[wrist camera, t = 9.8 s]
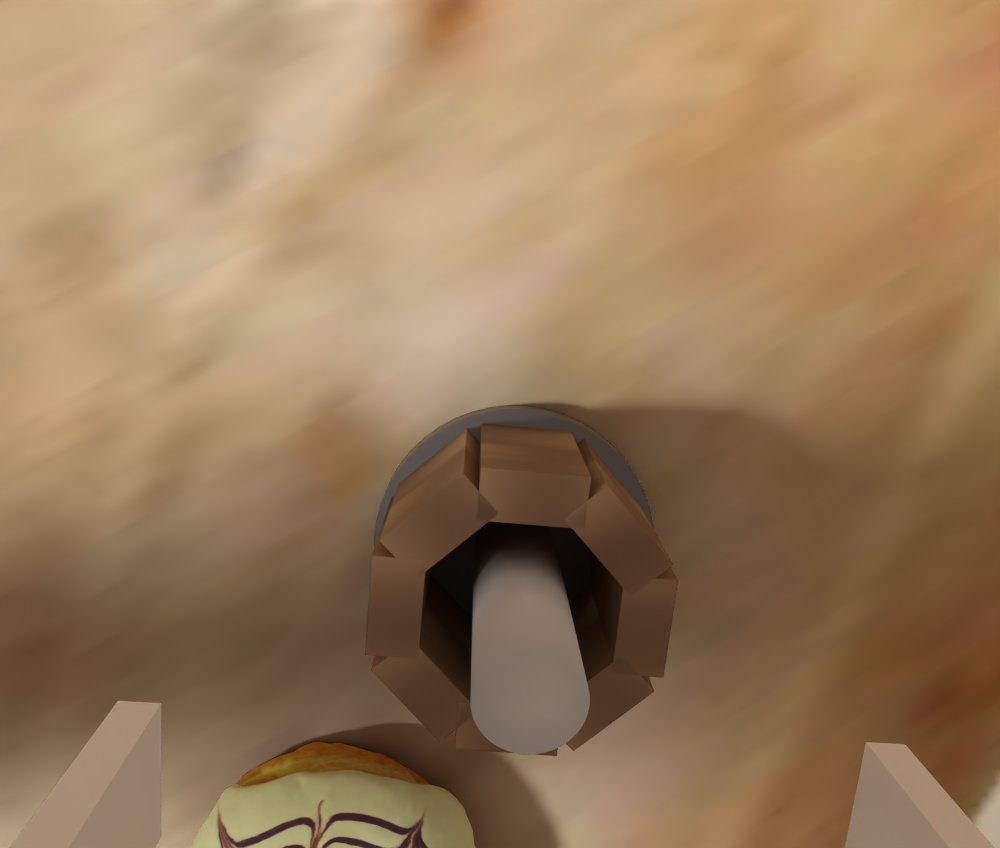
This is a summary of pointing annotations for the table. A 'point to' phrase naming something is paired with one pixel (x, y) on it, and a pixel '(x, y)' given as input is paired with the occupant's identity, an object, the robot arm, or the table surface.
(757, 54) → the table surface
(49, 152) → the table surface
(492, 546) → the post
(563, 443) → the ring
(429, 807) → the decorated donut
